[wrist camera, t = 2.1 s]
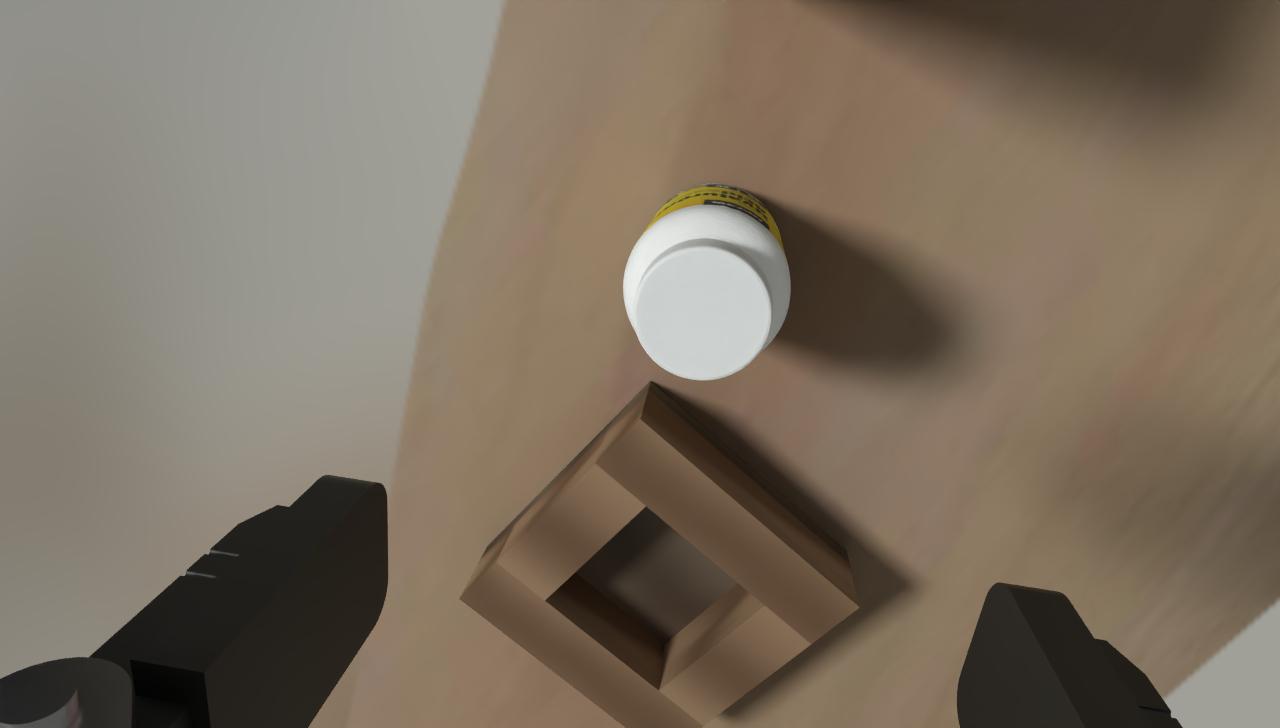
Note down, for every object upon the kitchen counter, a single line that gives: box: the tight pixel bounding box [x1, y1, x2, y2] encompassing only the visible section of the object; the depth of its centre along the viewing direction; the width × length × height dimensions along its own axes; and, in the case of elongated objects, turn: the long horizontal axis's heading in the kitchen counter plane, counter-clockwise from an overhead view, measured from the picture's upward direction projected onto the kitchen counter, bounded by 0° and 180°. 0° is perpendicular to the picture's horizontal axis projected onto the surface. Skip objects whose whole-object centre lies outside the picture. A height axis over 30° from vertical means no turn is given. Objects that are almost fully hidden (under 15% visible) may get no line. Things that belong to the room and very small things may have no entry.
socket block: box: [460, 381, 860, 728], centre depth 34 cm, size 12×12×4 cm
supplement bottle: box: [623, 183, 791, 380], centre depth 26 cm, size 5×5×10 cm
